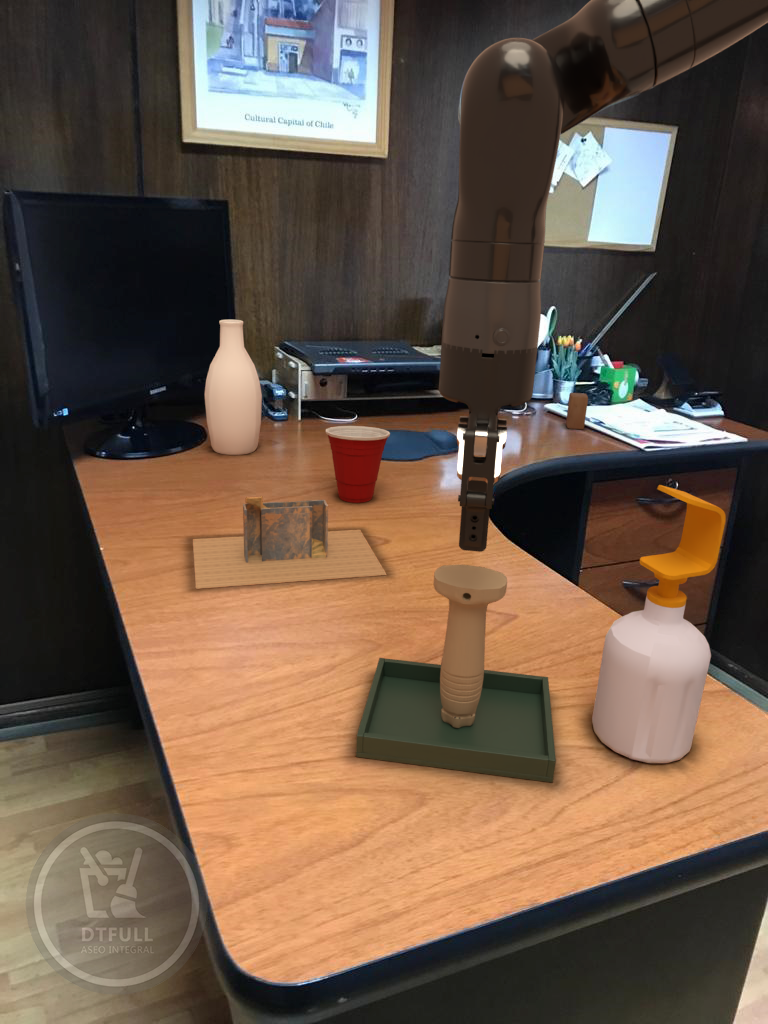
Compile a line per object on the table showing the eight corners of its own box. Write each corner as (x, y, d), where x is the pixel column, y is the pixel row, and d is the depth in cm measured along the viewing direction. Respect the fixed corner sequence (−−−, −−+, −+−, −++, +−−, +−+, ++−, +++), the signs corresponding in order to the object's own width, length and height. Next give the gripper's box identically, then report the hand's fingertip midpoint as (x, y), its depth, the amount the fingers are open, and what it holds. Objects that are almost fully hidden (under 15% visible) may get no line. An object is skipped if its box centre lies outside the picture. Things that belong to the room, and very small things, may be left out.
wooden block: (566, 428, 184) (571, 395, 182) (565, 424, 188) (569, 392, 185) (583, 430, 184) (588, 396, 181) (582, 426, 188) (586, 393, 185)
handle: (489, 740, 71) (505, 593, 65) (420, 729, 72) (430, 583, 66) (493, 710, 75) (509, 570, 70) (428, 700, 76) (438, 561, 71)
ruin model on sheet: (195, 588, 98) (192, 517, 94) (192, 539, 113) (189, 475, 109) (386, 574, 104) (390, 507, 100) (360, 529, 119) (362, 469, 115)
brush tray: (545, 696, 79) (548, 676, 78) (552, 782, 66) (556, 760, 65) (378, 676, 81) (379, 657, 80) (355, 757, 68) (356, 735, 68)
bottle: (262, 456, 152) (260, 325, 143) (204, 457, 151) (199, 324, 142) (262, 441, 163) (260, 318, 154) (208, 441, 161) (203, 316, 152)
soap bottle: (572, 717, 75) (608, 477, 67) (647, 699, 79) (691, 469, 70) (632, 775, 68) (681, 513, 59) (712, 753, 71) (770, 502, 62)
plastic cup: (390, 489, 137) (393, 423, 133) (383, 510, 127) (386, 439, 123) (330, 484, 138) (331, 419, 134) (318, 505, 128) (319, 434, 124)
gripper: (448, 325, 68) (437, 499, 73) (434, 349, 55) (422, 559, 60) (534, 330, 67) (517, 506, 73) (542, 355, 54) (519, 568, 59)
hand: (474, 530), depth 66 cm, fingers open, 8 cm apart
